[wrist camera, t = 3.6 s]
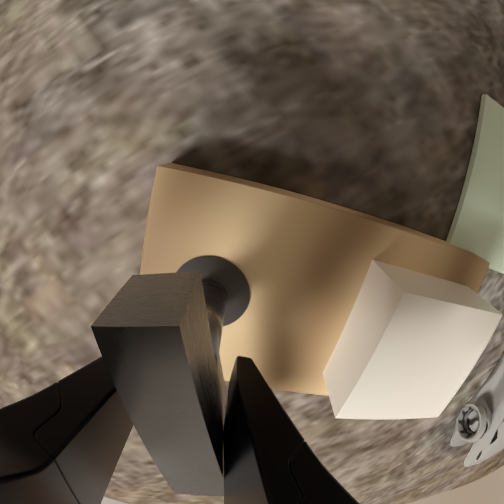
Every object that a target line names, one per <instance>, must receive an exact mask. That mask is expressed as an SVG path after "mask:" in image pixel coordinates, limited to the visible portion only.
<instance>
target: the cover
mask: <svg viewBox="0 0 504 504" xmlns="http://www.w3.org/2000/svg"><path fill="white" fill-rule="evenodd" d="M501 317H502V314H501V313H500V312H499V311H498V310H496V309H495V308H494V307H493V306H492V305H490V304H489V303H488V302H487V301H486V300H484V299H483V298H482V297H481V296H479V295H478V294H477V293H476V292H474V291H473V290H472V289H471V288H469V287H468V286H465V285H461V284H458V283H454V282H451V281H448V280H444V279H441V278H437V277H434V276H430V275H426V274H423V273H419V272H416V271H412V270H409V269H405V268H401V267H398V266H394V265H390V264H387V263H383V262H379V261H376V260H372V262H371V264H370V267H369V270H368V272H367V275H366V277H365V280H364V282H363V285H362V287H361V290H360V292H359V295H358V297H357V299H356V302H355V304H354V307H353V309H352V311H351V313H350V316H349V318H348V320H347V323H346V325H345V327H344V329H343V331H342V334H341V336H340V338H339V340H338V342H337V344H336V347H335V349H334V351H333V353H332V355H331V357H330V359H329V361H328V363H327V365H326V367H325V369H324V371H323V376H324V379H325V383H326V387H327V390H328V394H329V397H330V401H331V404H332V408H333V412H334V415H335V418H344V419H414V418H431V417H438V416H439V415H440V414H441V412H442V411H443V410H444V409H445V407H446V406H447V405H448V403H449V402H450V401H451V399H452V398H453V396H454V395H455V394H456V392H457V391H458V389H459V388H460V387H461V385H462V384H463V382H464V381H465V379H466V378H467V376H468V375H469V373H470V372H471V370H472V368H473V367H474V365H475V364H476V362H477V360H478V359H479V357H480V355H481V354H482V352H483V350H484V349H485V347H486V345H487V344H488V342H489V340H490V338H491V336H492V335H493V333H494V331H495V329H496V327H497V325H498V323H499V321H500V319H501Z"/></svg>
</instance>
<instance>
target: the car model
mask: <svg viewBox="0 0 504 504" xmlns="http://www.w3.org/2000/svg"><path fill="white" fill-rule="evenodd" d="M465 406H466V407H464V409H463V410H462V411H461V413H460V415H459V416H458V418H457V420H456V425H455V428H454V431H453V435H452V438H451V442H450V445H451V446H452V447H454V446H461V445H464V444H466V443H467V442H474V444H473V446H472V448H471V450H470V451H469V453H468V455H467V456H466V459H465V461H464V466H465V467H468V466H472V465H475V464H478V463H481V462H482V461H484V460H486V459H488V458H490V457H491V456H493V455H494V454H496V453H497V452H498V451H500V450H502V449H503V448H504V352H503V354H502V356H501V358H500V360H499V361H498V363H497V365H496V367H495V368H494V370H493V372H492V373H491V375H490V376H489V377H488V378H487V380H486V381H485V382H484V384H483V385H482V386H481V387H480V389H479V390H478V391H477V392H476V394H475V395H474V396H473V397H472V399H471V400H470V401H469V402H468V403H467V404H466V405H465ZM472 410H473V411H472Z"/></svg>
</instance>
